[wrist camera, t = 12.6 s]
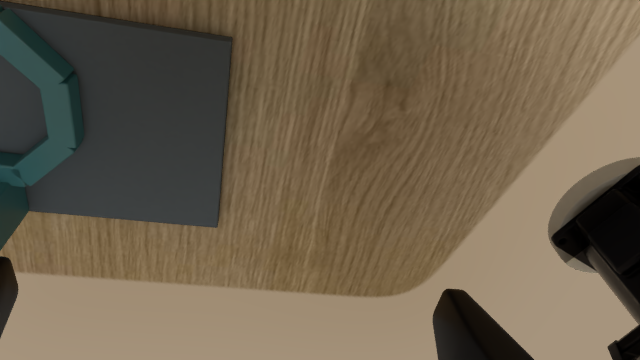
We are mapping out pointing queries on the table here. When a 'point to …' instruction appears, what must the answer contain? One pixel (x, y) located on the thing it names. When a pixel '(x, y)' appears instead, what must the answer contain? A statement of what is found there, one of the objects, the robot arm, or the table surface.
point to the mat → (127, 118)
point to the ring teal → (59, 110)
